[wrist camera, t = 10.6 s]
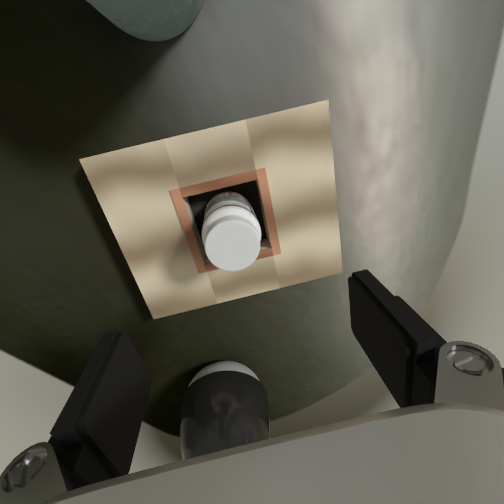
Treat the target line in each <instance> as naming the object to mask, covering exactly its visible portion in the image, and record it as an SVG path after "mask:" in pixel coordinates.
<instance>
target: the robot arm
mask: <svg viewBox="0 0 504 504" xmlns="http://www.w3.org/2000/svg"><path fill="white" fill-rule="evenodd" d="M348 285H349V300H350V315H351V328H352V331H353V334H354V336H355V337H356V339H357V340H358V342H359V344H360V345H361V347H362V348H363V350H364V352H365V353H366V355H367V356H368V358H369V359H370V361H371V363H372V364H373V366H374V367H375V369H376V370H377V372H378V374H379V375H380V377H381V378H382V380H383V381H384V383H385V384H386V386H387V388H388V389H389V391H390V393H391V394H392V396H393V397H394V399H395V400H396V402H397V403H398V405H399V406H400V408H399V409H394V410H390V411H385V412H381V413H376V414H372V415H367V416H363V417H358V418H354V419H350V420H345V421H341V422H338V423H333V424H329V425H325V426H320V427H316V428H312V429H308V430H304V431H300V432H296V433H291V434H288V435H283V436H279V437H275V438H271V439H267V440H263V441H259V442H255V443H250V444H246V445H242V446H238V447H234V448H230V449H226V450H222V451H218V452H214V453H210V454H206V455H202V456H198V457H194V458H190V459H186V460H182V461H178V462H174V463H170V464H166V465H163V466H158V467H154V468H150V469H147V470H143V471H139V472H135V473H131V474H128V473H129V470H130V466H131V462H132V458H133V454H134V450H135V446H136V443H137V438H138V435H139V431H140V427H141V423H142V419H143V415H144V411H145V407H146V403H147V400H148V396H149V392H150V388H151V376H150V374H149V372H148V371H147V369H146V367H145V365H144V363H143V361H142V360H141V358H140V356H139V354H138V352H137V351H136V349H135V347H134V345H133V343H132V341H131V340H130V338H129V336H128V334H127V333H126V332H122V331H121V330H115V331H111V332H107V333H104V334H103V336H102V338H101V340H100V341H99V343H98V345H97V347H96V349H95V351H94V352H93V354H92V356H91V358H90V360H89V362H88V364H87V365H86V367H85V369H84V371H83V373H82V375H81V376H80V378H79V380H78V382H77V384H76V386H75V388H74V389H73V391H72V393H71V395H70V397H69V399H68V401H67V403H66V404H65V406H64V408H63V410H62V412H61V414H60V415H59V417H58V419H57V421H56V423H55V425H54V427H53V428H52V430H51V432H50V434H51V435H52V436H51V437H50V439H49V441H48V443H47V442H41V443H37V444H35V445H33V446H30V447H29V448H27V449H26V450H24V451H23V452H21V453H20V454H19V455H18V456H17V457H15V458H14V459H13V460H12V462H11V463H10V464H9V465H8V466H7V467H6V469H5V470H4V471H3V473H2V474H1V476H0V504H504V368H502V367H501V365H500V362H499V360H498V359H497V358H496V357H495V355H493V354H492V353H491V352H490V351H488V350H487V349H485V348H483V347H481V346H479V345H477V344H473V343H470V342H464V341H452V342H449V343H447V342H446V341H445V340H444V339H443V338H442V337H441V336H440V335H439V334H438V333H437V332H436V331H435V330H434V329H433V328H432V327H430V326H429V325H428V324H427V323H426V322H425V321H424V320H423V319H422V318H421V317H420V316H419V315H418V314H417V313H416V312H415V311H414V310H413V309H412V308H411V307H410V306H409V305H408V304H407V303H406V302H405V301H404V300H403V299H402V298H400V297H399V296H393V295H392V294H391V293H390V292H389V291H388V290H387V289H386V288H385V287H384V286H383V285H382V284H381V283H380V282H379V281H378V280H377V279H376V278H375V277H374V276H373V275H372V274H371V273H370V272H369V271H368V270H362V271H358V272H353V273H352V277H349V278H348Z"/></svg>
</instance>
